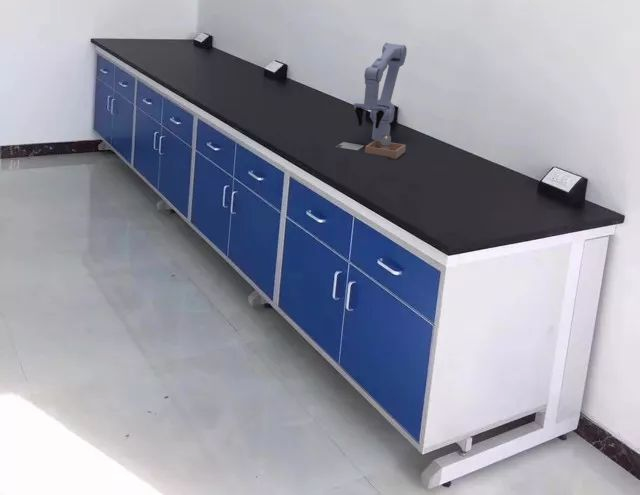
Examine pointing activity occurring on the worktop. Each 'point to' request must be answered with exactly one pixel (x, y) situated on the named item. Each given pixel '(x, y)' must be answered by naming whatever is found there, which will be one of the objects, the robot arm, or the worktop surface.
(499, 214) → the worktop surface
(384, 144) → the cell
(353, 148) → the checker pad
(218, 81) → the worktop surface
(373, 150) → the bin
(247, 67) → the worktop surface
